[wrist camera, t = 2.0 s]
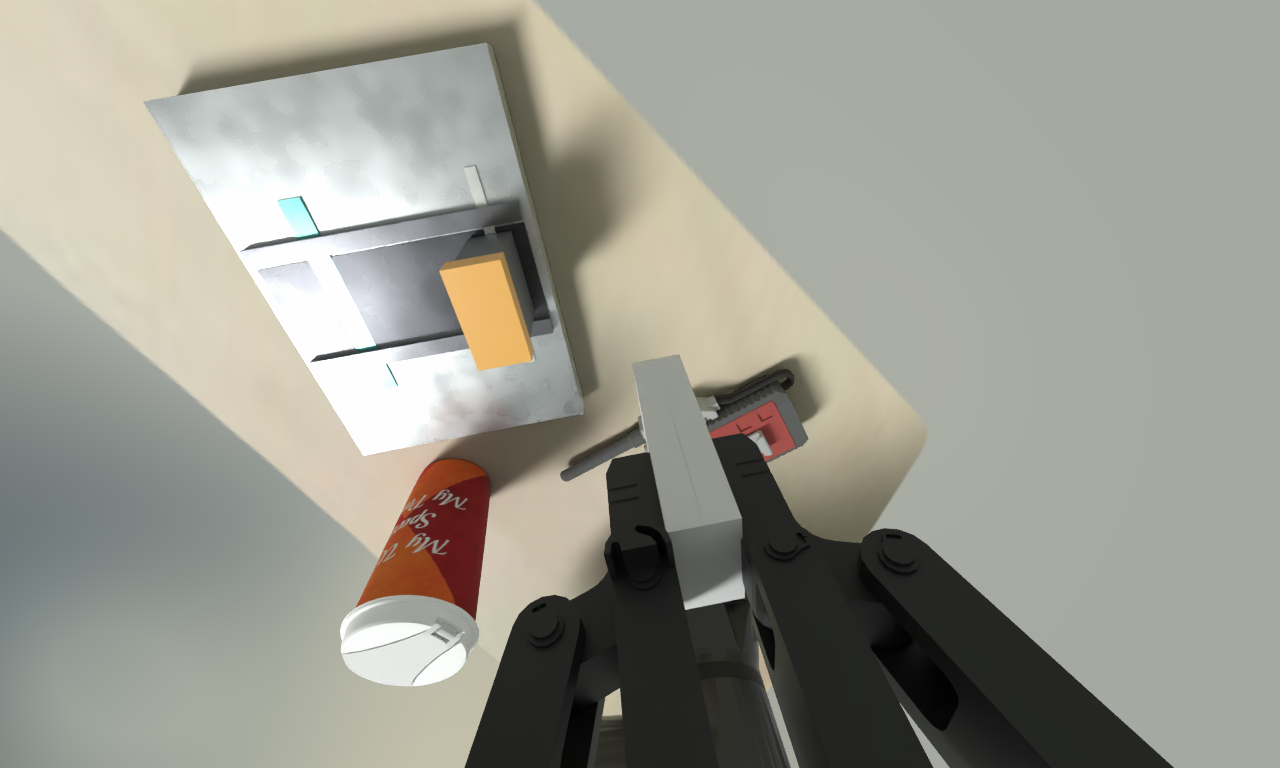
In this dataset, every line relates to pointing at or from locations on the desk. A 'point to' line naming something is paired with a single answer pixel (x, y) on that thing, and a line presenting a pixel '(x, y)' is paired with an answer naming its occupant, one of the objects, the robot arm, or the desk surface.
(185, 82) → the desk surface
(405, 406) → the console board
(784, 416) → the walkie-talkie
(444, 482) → the paper cup
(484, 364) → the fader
